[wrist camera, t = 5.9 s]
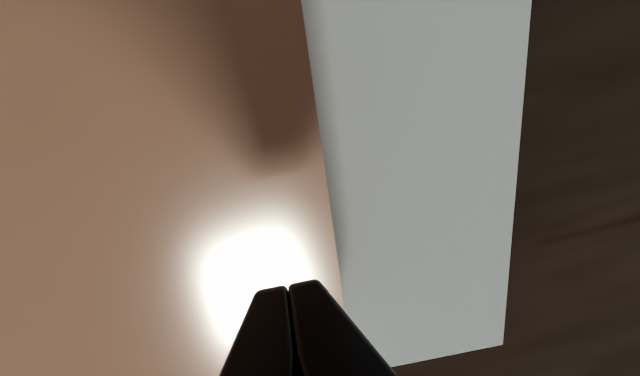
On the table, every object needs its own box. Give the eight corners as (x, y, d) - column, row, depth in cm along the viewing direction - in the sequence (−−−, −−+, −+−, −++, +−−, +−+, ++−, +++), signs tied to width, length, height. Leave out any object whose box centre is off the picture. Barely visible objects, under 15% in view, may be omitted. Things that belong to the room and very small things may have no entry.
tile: (356, 388, 12) (-16, 465, 12) (337, 309, 14) (15, 372, 13) (287, -88, 7) (-387, 21, 6) (272, -116, 9) (-254, -31, 8)
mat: (495, 330, 16) (502, 344, 15) (-32, 435, 15) (-38, 454, 15) (546, -379, 8) (563, -388, 7) (-569, -221, 7) (-617, -221, 7)
